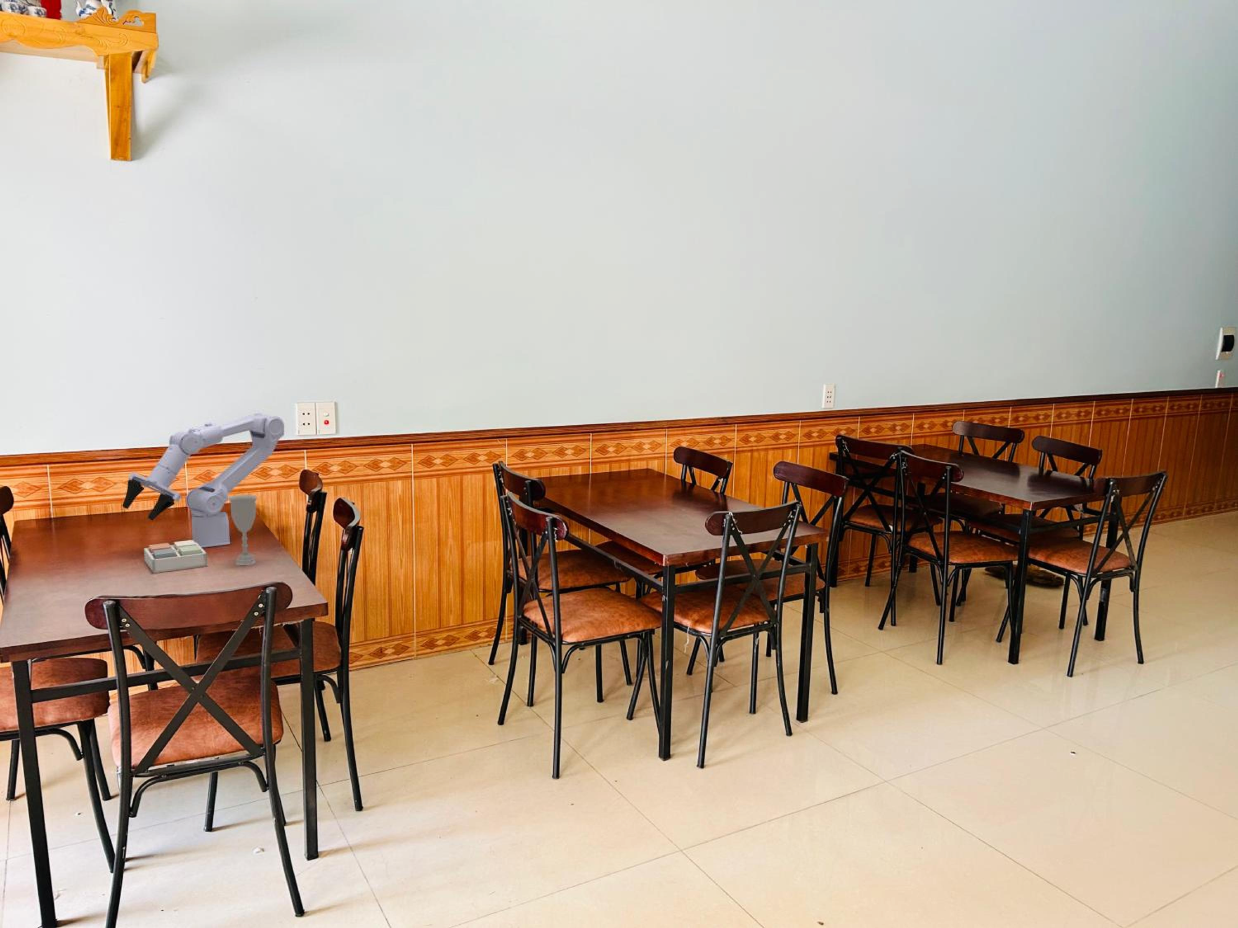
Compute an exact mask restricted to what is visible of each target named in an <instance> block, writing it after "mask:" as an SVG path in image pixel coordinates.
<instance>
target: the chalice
mask: <svg viewBox="0 0 1238 928" xmlns="http://www.w3.org/2000/svg"><path fill="white" fill-rule="evenodd" d="M228 498H229V499H228V500H229V503H230V514H231V515H230V516H231V518H232V520H233V523H234V526H235V528H236V529H237V530H238V531H239V532H241V533H242V535H241V536H242V537H241V540H242V544H241V547H242V550H243V551H242V552H241V553H240V554H239V555H238V556H237V560H236V562H235V563H236V564H235V565H236V566H240V565H247V566H251V565H254V563H255V564H256V563H257V562H256V560H255V558H254V555H253V554H252V553H249V552H248V547H249V544H248V543H247V541H248V539H249V538H248V535H247V532H248V531H251V529H252V526H253V524H254V521H255V519H256V516H257V511H256V509H257V507H256V501H257V500H258V499H257V498H258V496H257V495H252V494H238V495H237V494H236V495H232V496H231V495H230V496H228Z"/></svg>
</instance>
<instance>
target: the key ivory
mask: <svg viewBox="0 0 1238 928" xmlns="http://www.w3.org/2000/svg"><path fill="white" fill-rule="evenodd" d="M173 545H174V548H175V549H176V550H179V547H187V546H195V545H196V543H195V542H194V541H193V539H189V540H183V541H182V540H180V541H174V542H173Z"/></svg>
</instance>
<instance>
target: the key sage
mask: <svg viewBox="0 0 1238 928" xmlns="http://www.w3.org/2000/svg"><path fill="white" fill-rule="evenodd" d="M179 554H180V556H185V555H193V554H201V549H200V548H199V546H198V545H195V546H187V547H179Z"/></svg>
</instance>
